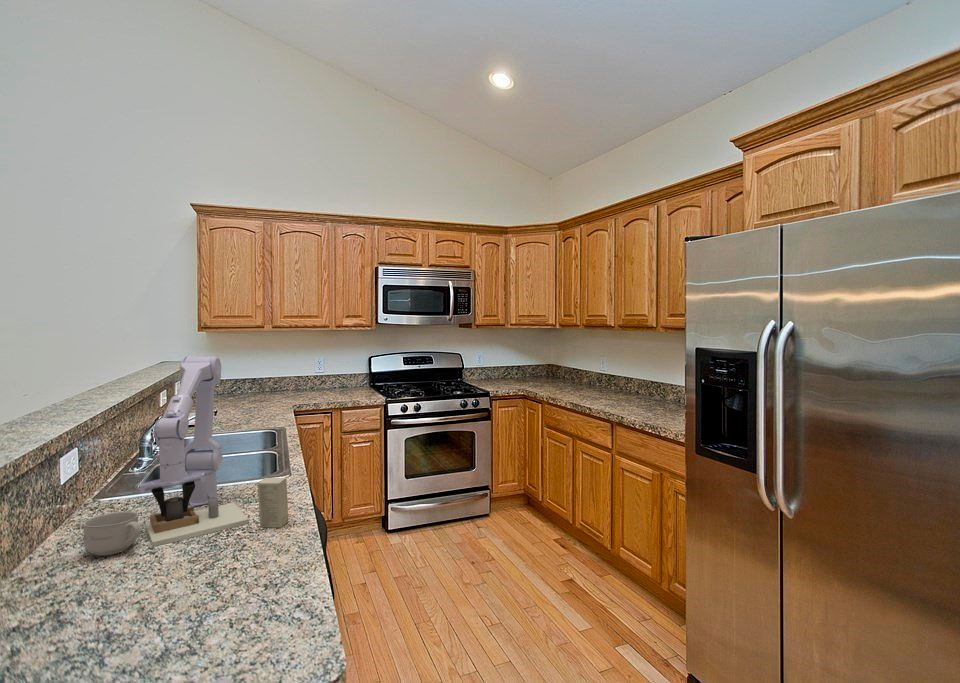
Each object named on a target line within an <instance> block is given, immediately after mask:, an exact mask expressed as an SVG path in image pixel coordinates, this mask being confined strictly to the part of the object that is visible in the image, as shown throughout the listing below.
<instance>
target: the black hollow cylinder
mask: <svg viewBox="0 0 960 683" xmlns="http://www.w3.org/2000/svg"><path fill="white" fill-rule="evenodd" d="M164 507H165V521H166V522H168V521H173V520H177V519H182V518H184V502H183V496H182V497H179V496H176V497H171V498H167V499H166V500H165V499H164Z"/></svg>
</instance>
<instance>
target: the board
mask: <svg viewBox="0 0 960 683" xmlns="http://www.w3.org/2000/svg"><path fill="white" fill-rule="evenodd" d="M207 498H208V504H207V506H208V507H207V508H202V509H199V510H194V507H193V506H188V508H187V512H184V518H182V519H177V520H173V521H168V522H166V521H165V516H163V517H162V515H161V512H158V513H153V514H150V515H149V520H147V521H145V522H144V523H145V524H144V526H145V529H146V532H147V535H148V538H149V541H150V544H151V547H152V548H154V547H159V546H163V545H166V544H167V545H168V544H170V543H176V542H179V541H183V540H187V539H191V538H196V537H199V536H204V535H207V534H212V533H216V532H220V531H224V530H228V529H233V528H236V527H241V526H244V525H248V524H250V519H249V517H248V516H247V515H246V514H245V512H244V511H243V510H241V508H240V507H239V506H238V505H237V504H236V503H235V502H230V503H226V504H221V505H219V501H218V497H214V496H213V495H212V494H207Z"/></svg>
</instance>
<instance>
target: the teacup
mask: <svg viewBox="0 0 960 683" xmlns="http://www.w3.org/2000/svg"><path fill="white" fill-rule="evenodd" d="M139 516H140V514H139V513H138V512H136V511H130V510H129V511H117V512H116V511H114V512H108V513H103V514H101V515H100V514H99V515H96V516H93V517H89V518H88V519H87V520H85V521H83V523H82V526H83V545H84V548H85V549H86V550H87V551H88V553H92V554H93V555H95V556H97V557H98V556H99V557H100V556H101V557H104V556H111V555H114V554H119V553H121V552H124V551H125V550H127V549H128V548H130V547H131V545H133V543H135V541H136V540H137V539H138V538H139V537H140V536H141V533H142V527H141V525H140V523H139Z"/></svg>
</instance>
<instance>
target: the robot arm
mask: <svg viewBox="0 0 960 683" xmlns="http://www.w3.org/2000/svg"><path fill="white" fill-rule="evenodd" d="M179 371H180V375H181V381H180V384H179V388H178V391H177V394H176V395H173V396H171V398H170V400H169V401H168V405H167V408H166V409H165V412H164V413H163V416H162V417H161V418H159V419H158V420H156V421H155V424H154V427H153V435H154V436H153V437H154V438H155V442H156V443H155V444H156V447H158V451H159V452H158V453H159V454H158V455H159V456H158V458H159V479H154V480H150V481H147V482H142V483H139V491H140V494H142V493H146V492H149V491H151V493H152V495H153V497H154V498H155V500H156V501H157V504H158V507H159V510H160V513H161V515H162V517H163V516H165V507H164V501H165V492H164V489H166V488H171V487H177V486H182V489H181V490H182V498H183V502H184V512H187V508H188V507H191V506H193V508H195V507H198V506H203V505H208V498H207V494H212V495H213V496H214V497H218V502H221V501H222V499H221V498H220V496H219V495H218V481H217V477H218V476H217V471H219V470H220V468H221V467H222V465H223V457H224V456H223V449H222V448H223V447H222V445H221V444H220V443H219V442H217V441H216V440H214V439H213V428H214V427H213V424H214V421H213V420H214V408H215V407H214V406H215V405H214V404H215V388H216V385H218V384H221V378H222V363H221V359H220V358H219V357H218V355H217V356H216V355H213V356H186V355H185V356H183V358H182V359H181V360H180V364H179ZM195 393H196V394H195ZM194 394H195V395H196V397H195V399H196V400H195V404H194V400H193V399H192V398H193V396H194ZM194 405H195V411H194V412H195V414H194V416H195V417H194V430H193V431H194V432H193V440H192V441H191V442H189V443H188V444H186V446H185V438H186V437H187V435H188V432H189V423H190V421H189V417H190V414H191V411H192V410H193V407H194ZM199 449H200V450H199ZM204 449H205V450H204Z"/></svg>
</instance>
